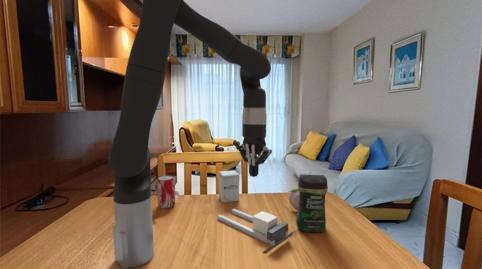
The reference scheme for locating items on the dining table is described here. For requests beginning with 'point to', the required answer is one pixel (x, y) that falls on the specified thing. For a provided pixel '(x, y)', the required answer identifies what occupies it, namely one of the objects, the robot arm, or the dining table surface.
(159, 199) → the soda can
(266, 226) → the block
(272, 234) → the grey slide rail
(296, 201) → the decorative fruit
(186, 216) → the dining table surface
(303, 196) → the coffee jar
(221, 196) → the supplement box
